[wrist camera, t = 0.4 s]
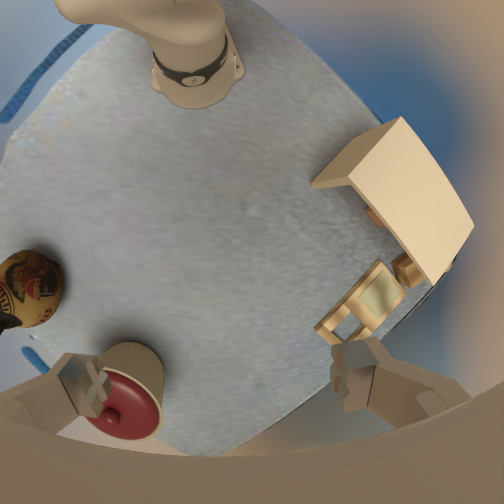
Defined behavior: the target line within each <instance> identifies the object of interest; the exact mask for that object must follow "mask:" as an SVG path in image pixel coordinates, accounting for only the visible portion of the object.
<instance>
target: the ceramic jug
mask: <svg viewBox="0 0 504 504" xmlns="http://www.w3.org/2000/svg"><path fill="white" fill-rule="evenodd" d="M62 286H63V279H62V275H61V271H60V268H59V266H58V264H57V263H55V262H54V261H52V260H50V259H48V258H46V257H45V256H44V255H42V254H40V253H38V252H36V251H31V250H23V251H20V252H17V253H15V254H13V255H11V256H10V257H8V258H7V259H6V260H5V261H4V262H3V263H2V264H1V265H0V335H1V333H2V332H3V331H4V329H10V328H14V327H21V328H29V327H34V326H38V325H40V324H42V323H44V322H46V321H47V320H49V319H50V318H51V317H52V316H53V314H54V313H55V312H56V310H57V308H58V306H59V303H60V296H61V292H62Z"/></svg>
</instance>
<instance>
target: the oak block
mask: <svg viewBox="0 0 504 504" xmlns="http://www.w3.org/2000/svg"><path fill="white" fill-rule="evenodd" d="M391 265H392V268H393V271H394V274H395V277H396V280H397V281H398V282H399V283H401V284H403V285H405V286H407V287H409V288H412V287H414V286H415V285H417V284H418V283H420V282H421V281H422V280H424V279H425V278H424V276H423V275H422V273H421V272H420V271H419V269H418V268H417V266H416V265H415V264H414V262H413V261H412V260H411V258H410V257H409V255H408V254H407V253H405V254H403V255H402V256H400V257H399V258H397V259H395V260H394V261H392V262H391Z"/></svg>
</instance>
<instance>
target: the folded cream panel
mask: <svg viewBox="0 0 504 504" xmlns="http://www.w3.org/2000/svg"><path fill="white" fill-rule="evenodd" d="M310 185H311V186H312V187H313V188H314V189H322V188H329V187H337V186H345V185H351V186H352V187H353V188H354V189H355V190H356V192H357V193H358V194H359V195H360V196H361V197H362V198H363V200H364V201H365V202H366V203H367V204H368V205H369V207H370V208H371V209H372V210H373V211H374V212H375V214H376V215H377V216H378V217H379V218H380V220H381V221H382V222H383V223H384V225H385V226H386V227H387V228H388V230H389V231H390V232H391V233H392V235H393V236H394V237H395V238H396V240H397V241H398V242H399V244H400V245H401V246H402V248H403V249H404V250H405V251H406V253H407V254H408V255H409V257H410V258H411V260H412V261H413V262H414V264H415V265H416V266H417V268H418V269H419V271H420V272H421V273H422V275H423V276H424V278H425V279H426V281H427V282H428V283H429V284H431V285H433V286H434V285H435V283H436V282H437V281H438V279H439V278H440V277H441V275H442V274H443V273H444V271H445V270H446V268H447V267H448V266H449V264H450V263H451V261H452V260H453V258H454V257H455V255H456V254H457V252H458V251H459V249H460V248H461V246H462V245H463V243H464V242H465V240H466V239H467V237H468V236H469V234H470V232H471V230H472V229H473V227H474V224H473V222H472V220H471V218H470V216H469V214H468V213H467V211H466V209H465V207H464V205H463V204H462V202H461V200H460V199H459V197H458V195H457V194H456V192H455V190H454V189H453V188H452V185H451V184H450V182H449V181H448V179H447V178H446V176H445V175H444V173H443V171H442V170H441V168H440V167H439V166H438V164H437V163H436V161H435V160H434V158H433V157H432V155H431V154H430V153H429V151H428V150H427V148H426V147H425V146H424V144H423V143H422V142H421V141H420V139H419V138H418V137H417V135H416V134H415V133H414V131H413V130H412V129H411V128H410V126H409V125H408V124H407V123H406V121H405V120H404V119H403V118H402V117H398V118H396V119H394V120H391V121H389V122H387V123H385V124H382V125H380V126H378V127H376V128H374V129H372V130H369V131H367V132H365V133H363V134H361V135H359V136H356V137H354V138H353V139H352V140H351V141H350V142H349V143H348V144H347V145H346V146H345V147H344V148H343V149H342V150H341V151H340V152H339V154H338V155H337V156H336V157H335V158H334V159H333V160H332V161H331V162H330V163H329V164H328V165H327V166H326V167H325V168H324V169H323V170H322V172H321V173H320V174H319V175H318V176H317V177H316V178H315V179H314V180H313V181H312V182H311V183H310Z"/></svg>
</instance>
